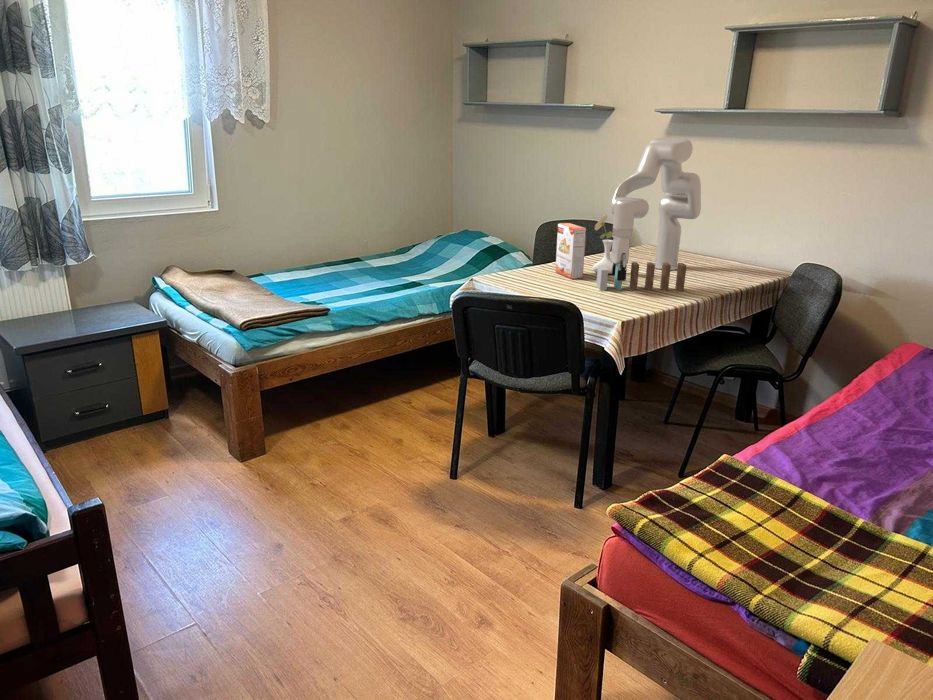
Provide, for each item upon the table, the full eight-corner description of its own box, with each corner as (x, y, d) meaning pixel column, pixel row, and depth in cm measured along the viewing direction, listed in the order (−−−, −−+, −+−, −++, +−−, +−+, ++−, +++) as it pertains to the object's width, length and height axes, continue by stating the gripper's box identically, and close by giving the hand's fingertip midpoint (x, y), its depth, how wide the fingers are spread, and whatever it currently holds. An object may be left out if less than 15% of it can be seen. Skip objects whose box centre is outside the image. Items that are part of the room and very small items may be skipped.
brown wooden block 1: (632, 290, 275) (634, 264, 272) (629, 287, 279) (631, 262, 276) (636, 290, 275) (639, 264, 272) (633, 287, 280) (636, 262, 276)
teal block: (618, 287, 280) (620, 261, 276) (621, 290, 275) (623, 264, 272) (613, 286, 280) (616, 261, 276) (616, 289, 275) (618, 264, 272)
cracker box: (554, 272, 303) (557, 223, 296) (567, 271, 305) (570, 222, 298) (570, 279, 291) (573, 228, 284) (583, 278, 293) (586, 227, 286)
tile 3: (647, 290, 275) (650, 264, 272) (644, 287, 280) (647, 262, 276) (652, 290, 275) (655, 265, 272) (649, 287, 280) (651, 262, 276)
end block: (596, 285, 281) (597, 265, 278) (602, 285, 281) (604, 265, 278) (599, 290, 273) (601, 270, 271) (606, 290, 273) (608, 270, 271)
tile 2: (663, 290, 275) (666, 265, 272) (659, 287, 280) (662, 262, 276) (668, 290, 275) (670, 265, 272) (664, 287, 280) (667, 262, 276)
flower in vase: (605, 269, 312) (610, 211, 304) (624, 274, 303) (630, 214, 295) (583, 272, 305) (587, 213, 297) (602, 277, 296) (607, 216, 288)
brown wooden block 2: (678, 291, 275) (681, 265, 272) (675, 288, 280) (678, 262, 276) (683, 291, 275) (686, 265, 272) (679, 288, 280) (682, 262, 277)
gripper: (608, 229, 278) (604, 272, 284) (617, 236, 262) (613, 282, 267) (627, 229, 279) (623, 273, 284) (637, 237, 262) (633, 282, 268)
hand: (618, 277), depth 276 cm, fingers open, 9 cm apart
